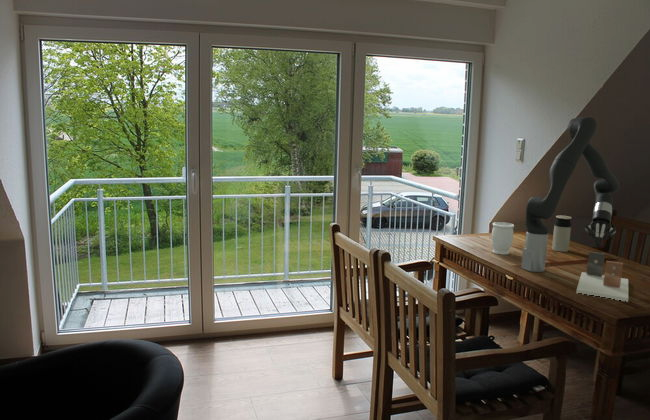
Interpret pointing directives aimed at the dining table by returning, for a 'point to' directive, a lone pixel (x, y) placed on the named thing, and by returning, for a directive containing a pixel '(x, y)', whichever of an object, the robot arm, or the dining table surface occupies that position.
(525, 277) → the dining table surface
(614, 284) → the tile two dots
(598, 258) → the tile one dot
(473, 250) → the dining table surface
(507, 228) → the jar
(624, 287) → the board
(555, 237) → the travel mug
